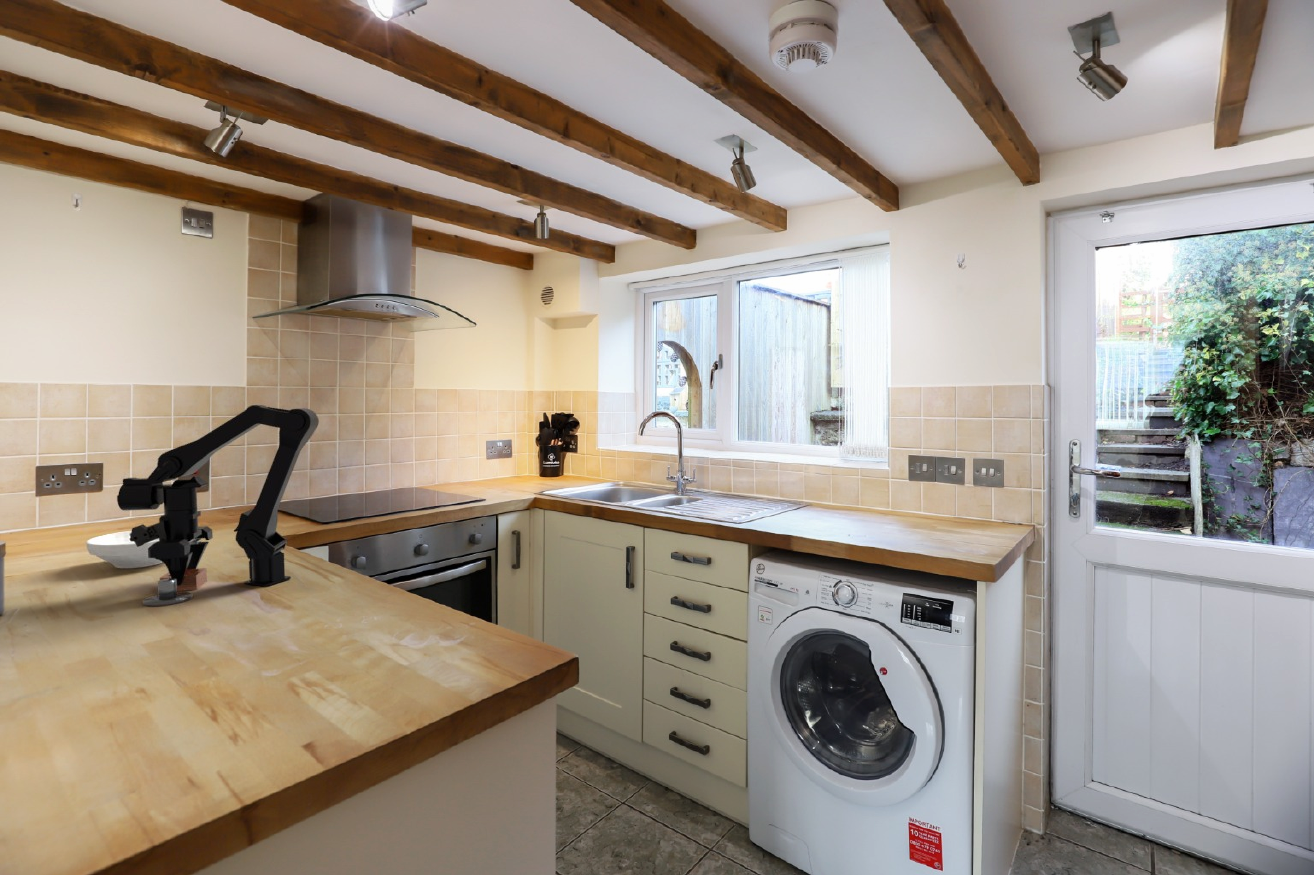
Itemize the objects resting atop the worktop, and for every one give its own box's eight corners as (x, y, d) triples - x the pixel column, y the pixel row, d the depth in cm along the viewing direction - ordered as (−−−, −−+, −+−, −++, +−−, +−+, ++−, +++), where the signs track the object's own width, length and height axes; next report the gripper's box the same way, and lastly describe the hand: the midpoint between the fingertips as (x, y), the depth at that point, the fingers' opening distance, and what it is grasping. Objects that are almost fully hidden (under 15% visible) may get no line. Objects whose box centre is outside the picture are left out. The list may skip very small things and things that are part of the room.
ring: (206, 581, 144) (206, 567, 144) (196, 589, 138) (196, 575, 138) (172, 584, 142) (171, 570, 142) (160, 592, 136) (159, 578, 136)
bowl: (64, 574, 151) (62, 543, 150) (144, 554, 170) (142, 526, 170) (137, 577, 148) (135, 546, 147) (210, 557, 167) (208, 529, 166)
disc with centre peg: (202, 596, 134) (201, 576, 133) (162, 608, 126) (161, 587, 126) (172, 592, 136) (171, 573, 136) (132, 604, 128) (131, 584, 128)
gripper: (153, 504, 146) (156, 573, 147) (114, 518, 128) (118, 597, 129) (211, 501, 149) (214, 569, 150) (181, 515, 132) (185, 591, 132)
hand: (184, 581), depth 140 cm, fingers open, 7 cm apart
